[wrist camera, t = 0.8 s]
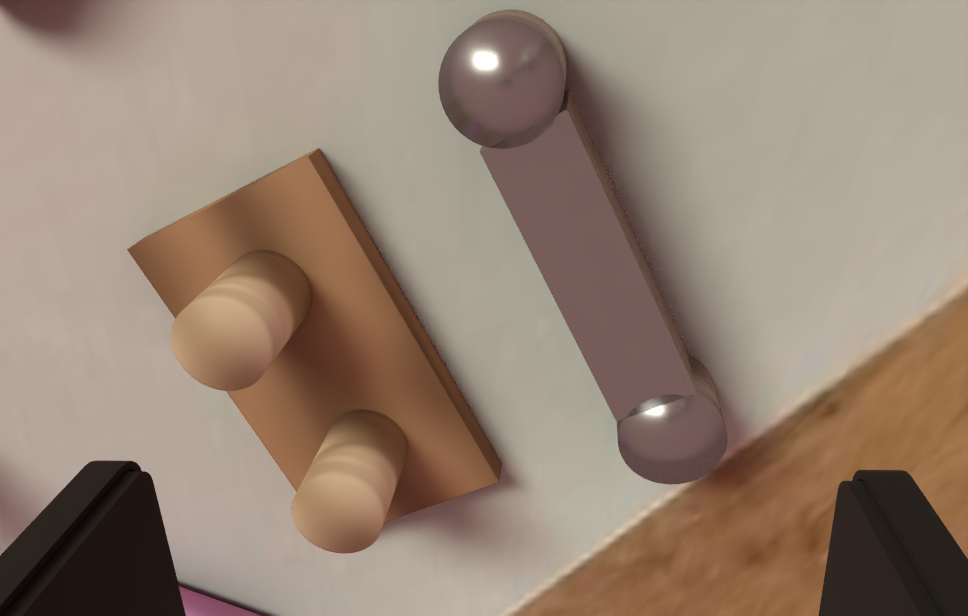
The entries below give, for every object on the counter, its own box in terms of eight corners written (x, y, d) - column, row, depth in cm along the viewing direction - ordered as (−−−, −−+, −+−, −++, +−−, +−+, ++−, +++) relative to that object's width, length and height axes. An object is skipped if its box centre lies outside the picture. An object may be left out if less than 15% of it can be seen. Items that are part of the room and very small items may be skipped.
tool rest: (318, 148, 35) (259, 195, 29) (502, 464, 41) (486, 560, 35) (143, 238, 38) (55, 299, 32) (338, 521, 44) (296, 620, 38)
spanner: (537, -12, 31) (530, -5, 28) (727, 414, 38) (742, 464, 35) (435, 42, 33) (416, 55, 29) (637, 445, 40) (642, 496, 36)
